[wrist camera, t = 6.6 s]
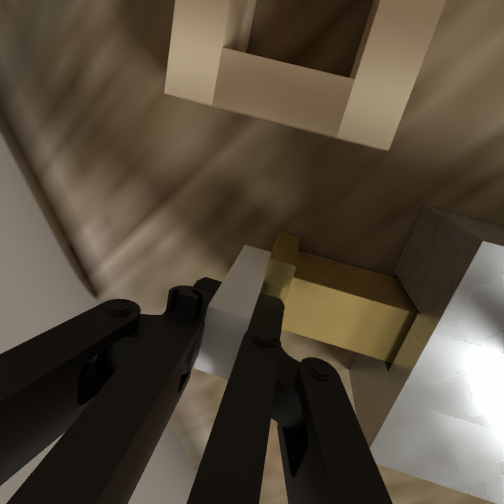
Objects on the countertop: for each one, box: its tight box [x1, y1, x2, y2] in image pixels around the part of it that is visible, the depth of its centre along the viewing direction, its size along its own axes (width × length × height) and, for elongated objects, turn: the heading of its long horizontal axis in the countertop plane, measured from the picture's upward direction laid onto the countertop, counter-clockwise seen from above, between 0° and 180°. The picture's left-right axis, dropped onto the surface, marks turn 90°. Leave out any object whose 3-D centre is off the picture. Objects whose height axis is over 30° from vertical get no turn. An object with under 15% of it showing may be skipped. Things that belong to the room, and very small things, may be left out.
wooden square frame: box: [164, 0, 446, 151], centre depth 12 cm, size 9×9×4 cm
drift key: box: [260, 231, 419, 363], centre depth 16 cm, size 4×10×4 cm, turn 76°
